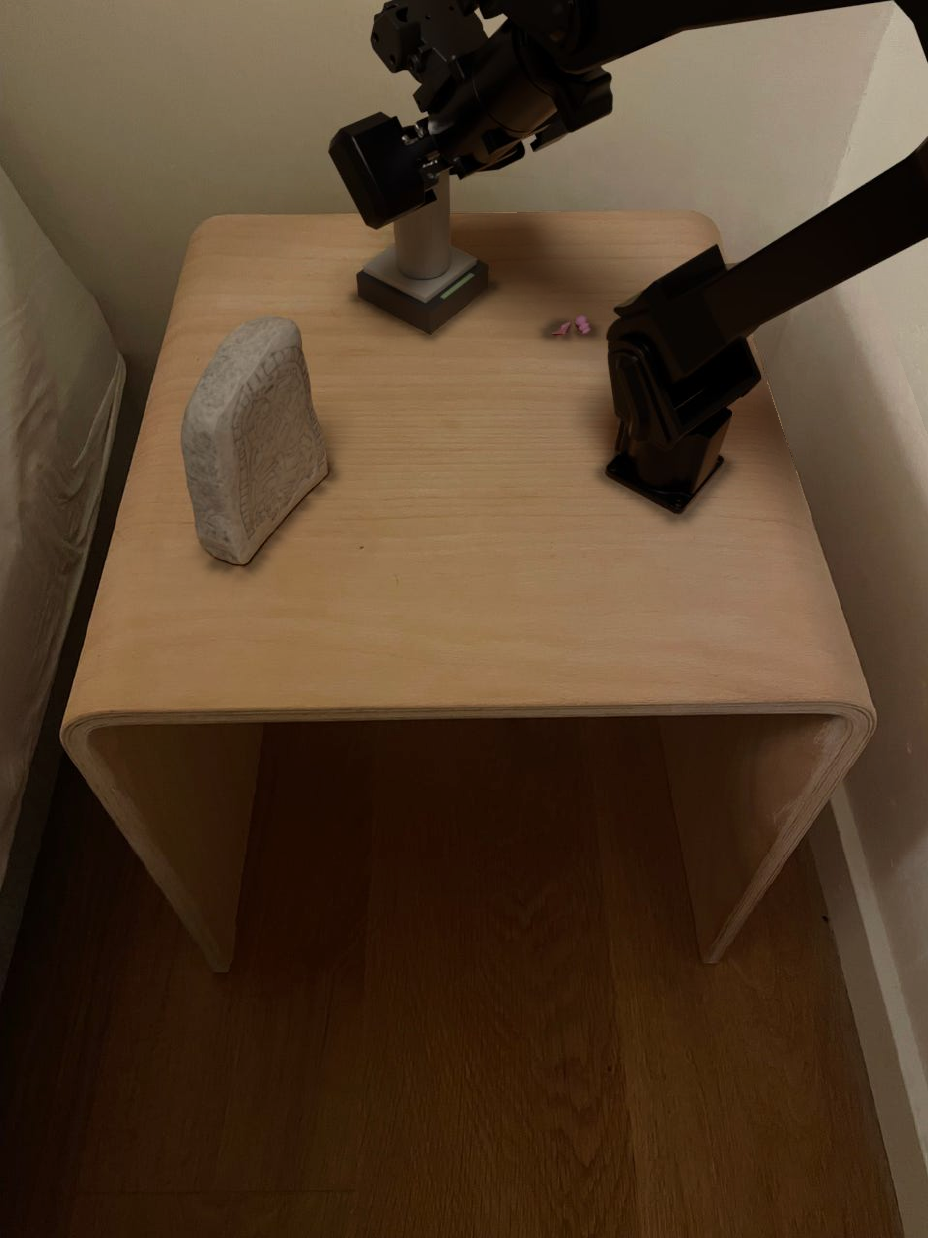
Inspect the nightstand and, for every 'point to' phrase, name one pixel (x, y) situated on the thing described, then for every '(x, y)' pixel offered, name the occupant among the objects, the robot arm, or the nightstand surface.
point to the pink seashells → (579, 321)
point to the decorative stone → (251, 438)
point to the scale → (422, 288)
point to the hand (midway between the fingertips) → (409, 180)
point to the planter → (425, 231)
